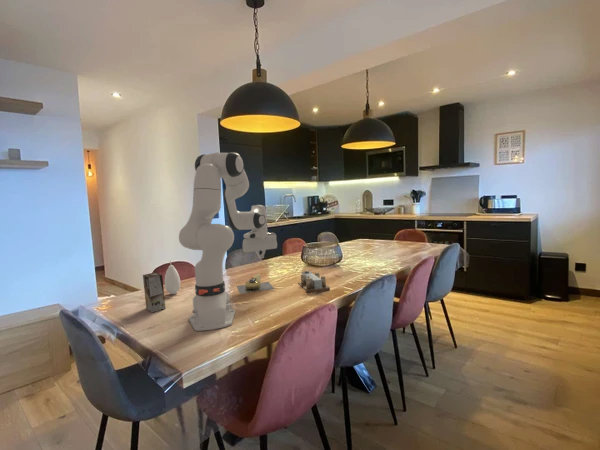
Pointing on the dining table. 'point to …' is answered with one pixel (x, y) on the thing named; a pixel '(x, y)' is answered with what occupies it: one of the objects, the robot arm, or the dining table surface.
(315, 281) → the grey rectangular bar
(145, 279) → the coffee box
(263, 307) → the dining table surface
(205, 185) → the robot arm
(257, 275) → the khaki elongated piece
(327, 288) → the cradle
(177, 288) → the white teardrop candle
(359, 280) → the dining table surface
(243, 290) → the dial base
